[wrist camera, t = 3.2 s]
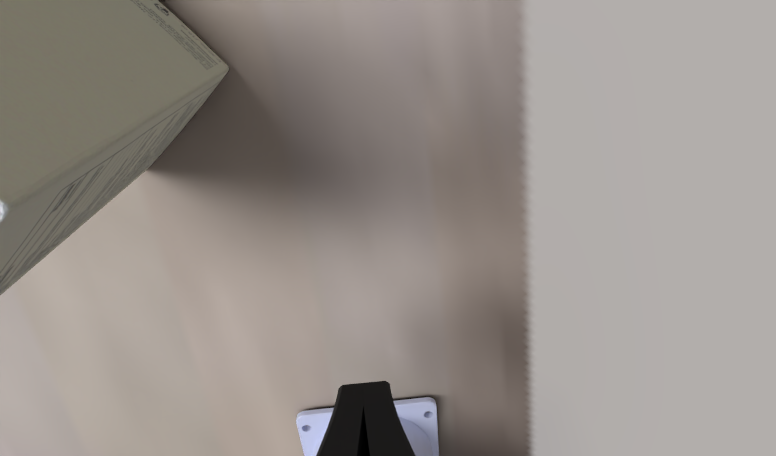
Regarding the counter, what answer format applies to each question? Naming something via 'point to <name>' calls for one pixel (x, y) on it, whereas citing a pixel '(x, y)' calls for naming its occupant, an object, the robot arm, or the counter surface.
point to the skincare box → (86, 111)
